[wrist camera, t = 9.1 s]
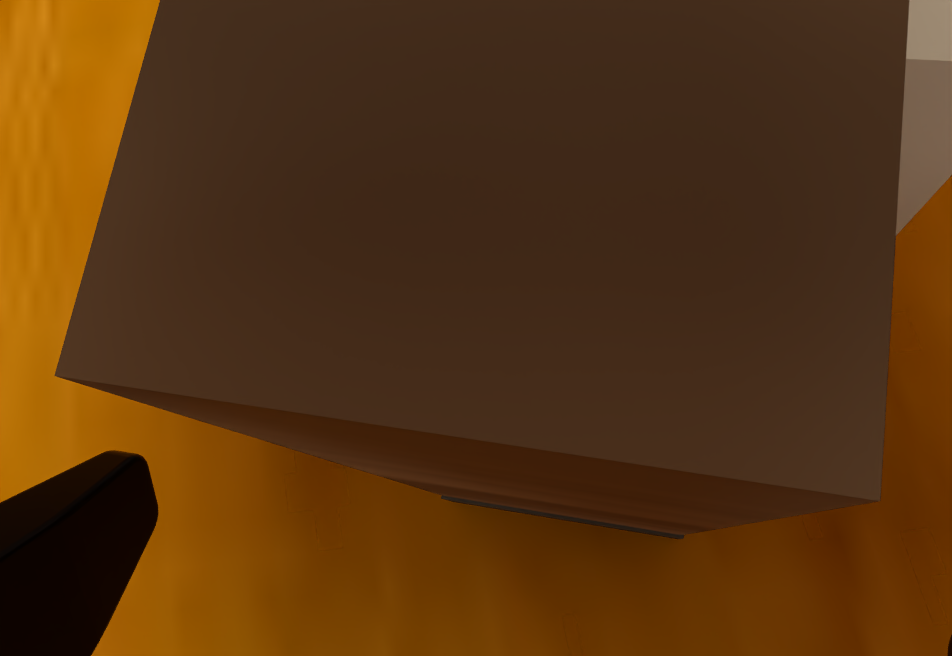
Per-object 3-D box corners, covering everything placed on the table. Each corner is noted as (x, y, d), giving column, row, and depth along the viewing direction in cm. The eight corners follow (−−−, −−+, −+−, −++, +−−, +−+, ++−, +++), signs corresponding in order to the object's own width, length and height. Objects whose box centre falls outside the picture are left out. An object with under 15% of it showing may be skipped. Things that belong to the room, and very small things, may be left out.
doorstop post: (678, 538, 16) (892, 511, 4) (452, 501, 17) (42, 382, 5) (702, 316, 17) (933, -261, 5) (488, 290, 18) (225, -259, 6)
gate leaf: (330, 214, 19) (171, 25, 12) (347, 133, 19) (202, -95, 13) (876, 265, 17) (1059, 71, 10) (881, 173, 17) (1059, -74, 10)
